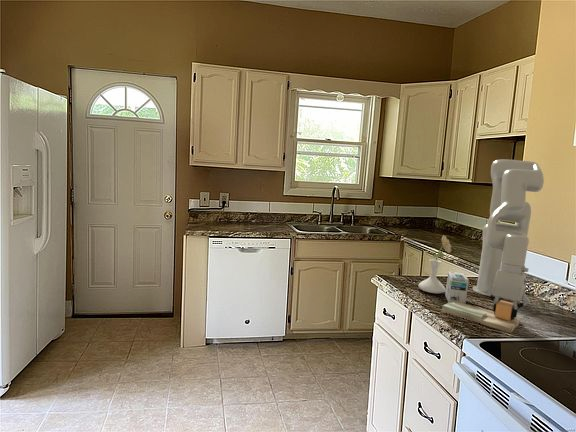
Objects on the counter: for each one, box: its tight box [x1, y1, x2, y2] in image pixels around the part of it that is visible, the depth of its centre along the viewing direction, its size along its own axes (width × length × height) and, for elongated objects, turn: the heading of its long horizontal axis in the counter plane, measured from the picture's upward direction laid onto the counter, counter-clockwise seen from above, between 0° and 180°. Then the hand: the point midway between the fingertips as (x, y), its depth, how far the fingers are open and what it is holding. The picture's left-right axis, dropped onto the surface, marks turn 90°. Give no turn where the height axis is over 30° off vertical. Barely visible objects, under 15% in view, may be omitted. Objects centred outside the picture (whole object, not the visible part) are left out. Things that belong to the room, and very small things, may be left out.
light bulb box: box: [444, 270, 470, 304], centre depth 180 cm, size 11×7×11 cm, turn 168°
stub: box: [495, 299, 514, 321], centre depth 160 cm, size 6×5×5 cm
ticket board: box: [441, 301, 522, 334], centre depth 162 cm, size 14×24×2 cm, turn 50°
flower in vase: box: [418, 234, 452, 294], centre depth 189 cm, size 13×11×25 cm
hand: (504, 315), depth 160 cm, fingers closed on stub, 5 cm apart
